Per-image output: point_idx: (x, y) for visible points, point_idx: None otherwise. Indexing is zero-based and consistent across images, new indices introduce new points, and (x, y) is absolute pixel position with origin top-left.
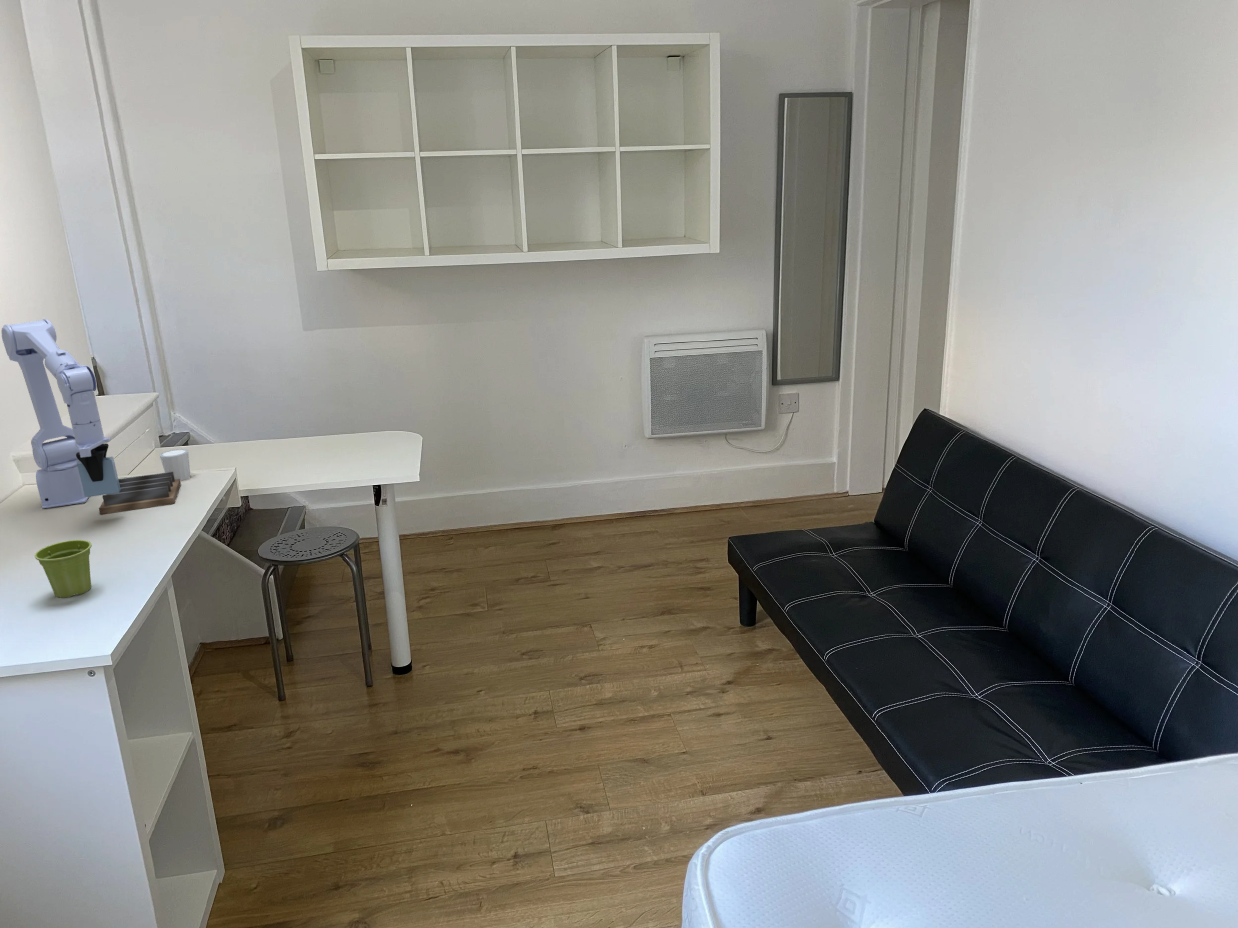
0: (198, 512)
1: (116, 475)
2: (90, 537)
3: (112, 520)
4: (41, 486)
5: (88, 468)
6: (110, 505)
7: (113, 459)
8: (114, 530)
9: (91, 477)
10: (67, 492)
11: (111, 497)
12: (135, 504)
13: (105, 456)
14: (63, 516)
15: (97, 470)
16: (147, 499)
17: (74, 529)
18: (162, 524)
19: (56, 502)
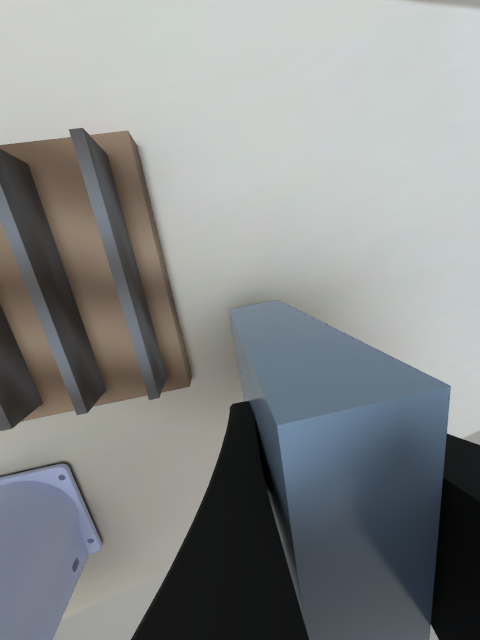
0: (273, 5)
1: (269, 325)
2: (378, 331)
3: None
4: (47, 634)
5: None
6: (167, 360)
7: (292, 392)
8: (349, 284)
9: None
10: (50, 537)
11: (154, 365)
12: (165, 279)
13: (245, 543)
14: (179, 467)
15: None
16: (131, 242)
17: None
18: (356, 137)
19: (76, 532)
